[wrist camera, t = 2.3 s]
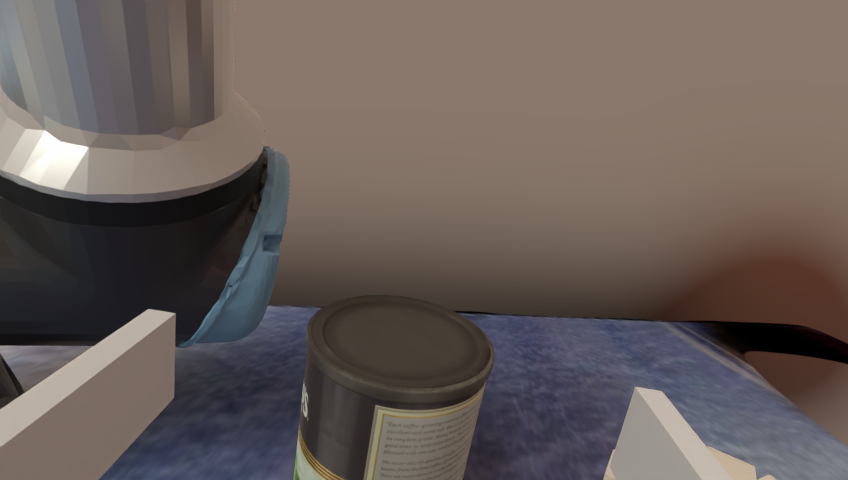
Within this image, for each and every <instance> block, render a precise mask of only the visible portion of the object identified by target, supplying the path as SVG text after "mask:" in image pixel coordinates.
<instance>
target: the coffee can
mask: <svg viewBox="0 0 848 480" xmlns="http://www.w3.org/2000/svg"><path fill="white" fill-rule="evenodd" d="M306 346H307V354H306V364H305V374H304V383H303V392H302V401H301V411H300V422H299V432H298V441H297V451H296V461H295V470H294V480H462V479H463V476H464V471H465V467H466V463H467V459H468V455H469V451H470V446H471V442H472V438H473V434H474V430H475V426H476V421H477V417H478V413H479V409H480V405H481V401H482V397H483V392H484V388H485V384H486V380H487V379H488V377H489V375H490V372H491V370H492V366H493V362H494V349H493V346H492V344H491V342H490V340H489V339H488V337H487V336H486V334H485V333H484V332H483V331H482V330H481V329H480V328H479V327H477V326H476V325H475V324H474V323H472V322H471V321H470V320H468V319H466V318H465V317H463V316H461V315H460V314H458V313H456V312H454V311H452V310H449V309H447V308H445V307H442V306H439V305H436V304H433V303H430V302H427V301H422V300H419V299H413V298H409V297H402V296H390V295H366V296H358V297H352V298H347V299H343V300H339V301H336V302H333V303H331V304H329V305H327V306H325V307H323V308H322V309H320V310H319V311H318V312H317V313H316V314H315V315H314V316H313V317H312V318H311V320H310V322H309V323H308V327H307V333H306Z"/></svg>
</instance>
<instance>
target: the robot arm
mask: <svg viewBox="0 0 848 480" xmlns="http://www.w3.org/2000/svg"><path fill="white" fill-rule="evenodd" d="M234 44H235V0H0V345H19V346H93V347H92V348H90V349H89V350H87V351H86V352H84V353H83V354H81V355H80V356H78V357H77V358H75V359H74V360H72V361H71V362H69V363H68V364H67V365H65V366H64V367H62V368H61V369H59V370H58V371H56V372H55V373H53V374H52V375H50V376H49V377H47V378H46V379H44V380H43V381H41V382H40V383H38V384H37V385H36V386H34V387H33V388H31V389H30V390H28V391H27V392H24V390H23V388H22V386H21V385H20V383H19V381H18V380H17V378H16V377H15V375H14V373H13V372H12V370H11V369H10V367H9V366H8V364H7V363H6V361H5V360H4V358H3V357H2V355H1V354H0V480H99V479H100V477H101V476H102V475H103V474H104V473H105V472H106V471H107V470H108V469H109V468H110V467H111V466H112V465H113V463H114V462H115V461H116V460H117V459H118V458H119V457H120V456H121V455H122V454H123V453H124V452H125V450H126V449H127V448H128V447H129V446H130V445H131V444H132V443H133V442H134V441H135V440H136V439H137V438H138V436H139V435H140V434H141V433H142V432H143V431H144V430H145V429H146V428H147V427H148V426H149V425H150V423H151V422H152V421H153V420H154V419H155V418H156V417H157V416H158V415H159V414H160V413H161V412H162V411H163V409H164V408H165V407H166V406H167V405H168V404H169V403H170V402H171V401H172V400H173V399H174V380H175V346H176V347H177V348H186V347H189V346H192V345H194V344H196V343H214V342H231V341H236V340H240V339H242V338H244V337H246V336H247V335H249V334H250V333H251V332H253V331H254V330H255V329H256V327H257V326H258V325H259V323H260V322H261V320H262V318H263V316H264V313H265V311H266V309H267V306H268V302H269V299H270V296H271V292H272V289H273V285H274V281H275V277H276V273H277V268H278V263H279V258H280V243H281V241H282V236H283V231H284V228H285V224H286V217H287V209H288V199H289V187H290V185H289V184H290V175H289V163H288V160H287V158H286V157H285V156H284V155H283V154H282V153H280V152H277V151H274V150H273V149H271V148H270V147H266V146H264V141H265V135H264V133H265V130H264V127H263V124H262V121H261V119H260V117H259V115H258V114H257V112H256V111H255V110H254V108H253V107H252V106H251V105H250V104H249V103H248V102H247V101H246V100H245V99H243V98H242V97H241V96H240V95H239V94H238V93H237V92H235V91H234ZM610 469H611V471H612V473H613V475H614V477H615V479H616V480H732V478H731V477H730V476H729V475H728V473H727V472H726V471H725V470H724V468H723V467H722V466H721V465H720V463H719V462H718V461H717V460H716V458H715V457H714V456H713V455H712V453H711V452H710V451H709V450H708V448H707V447H706V446H705V445H704V443H703V442H702V441H701V440H700V438H699V437H698V436H697V435H696V433H695V432H694V431H693V430H692V428H691V427H690V426H689V425H688V423H687V422H686V421H685V420H684V418H683V417H682V416H681V415H680V413H679V412H678V411H677V410H676V408H675V407H674V406H673V405H672V403H671V402H670V401H669V400H668V398H667V397H666V396H665V395H664V393H663V392H662V391H658V390H652V389H646V388H640V387H635V389H634V392H633V395H632V399H631V402H630V405H629V408H628V411H627V414H626V417H625V420H624V423H623V427H622V430H621V433H620V436H619V439H618V442H617V445H616V448H615V451H614V454H613V458H612V461H611V464H610Z"/></svg>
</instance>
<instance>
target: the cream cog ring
mask: <svg viewBox="0 0 848 480" xmlns="http://www.w3.org/2000/svg"><path fill="white" fill-rule="evenodd" d="M707 448H708V450H709V451H710V452H711V453H712V455H713V456H714V457H715V458H716V460H717V461H718V462H719V463H720V465H721V466H722V467H723V468H724V470H725V471H726V472H727V473H728V475H729V476H730V477H731V478H732V480H757V479H756V471H755V466H753V465H750V464H748V463H746V462H743V461H741V460H739V459H737V458H734V457H732V456H730V455H727V454H725V453H723V452H720V451H718V450H716V449H714V448H711V447H709V446H707ZM614 451H615V450H614V449H613V451H612V454H611V457H610V460H609V463H608V466H607V469H606V472H605V475H604V478H603V480H616V479H615V477H614V475H613V473H612V471H611V469H610V464H611V461H612V458H613V454H614ZM758 480H777V479H775V478H774V477H772V476H771V475H767V476H765V477H762V478H760V479H758Z"/></svg>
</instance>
